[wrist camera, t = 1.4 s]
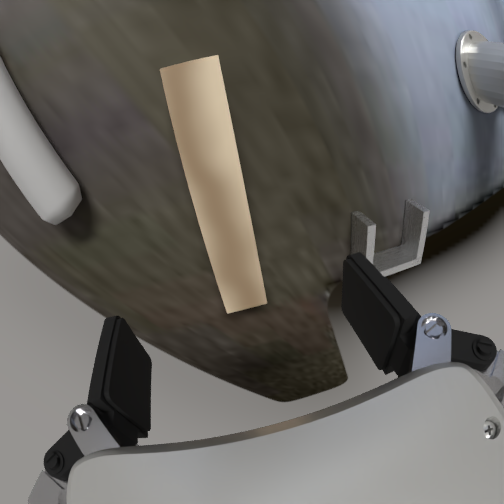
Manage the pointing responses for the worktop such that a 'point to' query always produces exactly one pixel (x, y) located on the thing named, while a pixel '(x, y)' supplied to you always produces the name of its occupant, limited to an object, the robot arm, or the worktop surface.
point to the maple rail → (215, 178)
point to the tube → (33, 158)
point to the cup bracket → (397, 256)
